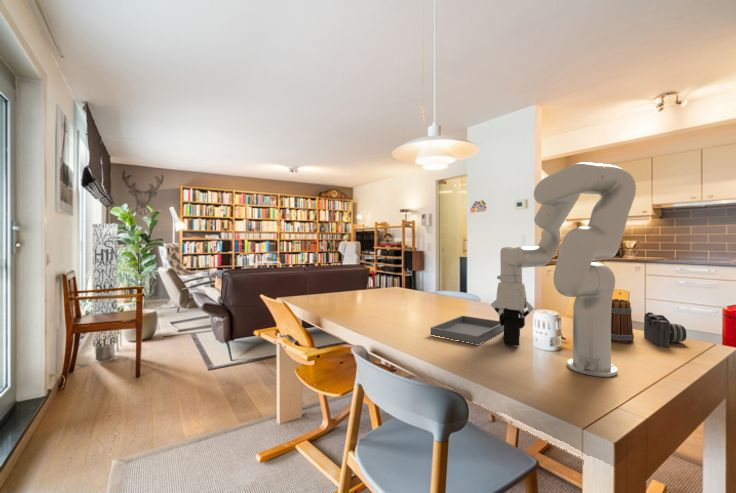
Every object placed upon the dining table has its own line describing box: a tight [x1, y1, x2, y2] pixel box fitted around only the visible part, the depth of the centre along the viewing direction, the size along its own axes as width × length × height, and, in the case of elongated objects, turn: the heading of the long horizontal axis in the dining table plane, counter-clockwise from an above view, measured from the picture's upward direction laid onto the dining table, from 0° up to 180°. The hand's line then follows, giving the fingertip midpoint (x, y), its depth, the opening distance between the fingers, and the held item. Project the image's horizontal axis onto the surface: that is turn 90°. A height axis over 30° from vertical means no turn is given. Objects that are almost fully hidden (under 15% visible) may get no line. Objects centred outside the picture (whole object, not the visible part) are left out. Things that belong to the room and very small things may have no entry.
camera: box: [643, 311, 687, 348], centre depth 126 cm, size 14×11×10 cm
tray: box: [430, 315, 504, 344], centre depth 142 cm, size 28×20×4 cm
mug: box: [611, 298, 635, 344], centre depth 131 cm, size 16×11×15 cm
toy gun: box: [502, 308, 521, 347], centre depth 131 cm, size 5×18×12 cm
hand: (511, 326), depth 130 cm, fingers closed on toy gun, 6 cm apart
